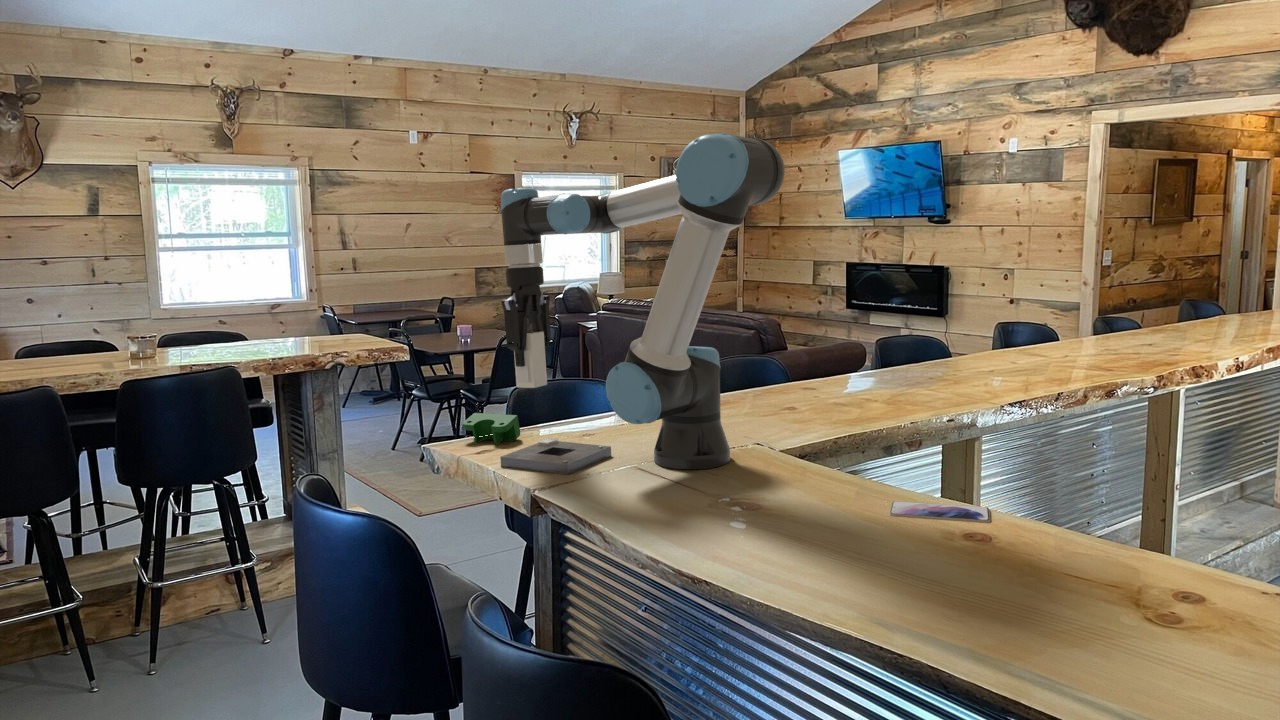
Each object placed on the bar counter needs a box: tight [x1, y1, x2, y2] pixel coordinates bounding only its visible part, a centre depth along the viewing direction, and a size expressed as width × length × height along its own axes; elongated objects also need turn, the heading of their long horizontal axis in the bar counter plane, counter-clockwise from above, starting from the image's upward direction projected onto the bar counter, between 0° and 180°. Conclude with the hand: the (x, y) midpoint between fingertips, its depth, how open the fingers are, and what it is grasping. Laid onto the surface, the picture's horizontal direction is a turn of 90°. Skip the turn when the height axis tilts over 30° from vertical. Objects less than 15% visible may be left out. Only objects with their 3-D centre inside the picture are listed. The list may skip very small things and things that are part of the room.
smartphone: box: [889, 500, 991, 524], centre depth 147 cm, size 7×1×15 cm
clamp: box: [462, 412, 521, 446], centre depth 206 cm, size 12×6×9 cm, turn 61°
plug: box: [513, 322, 548, 389], centre depth 189 cm, size 4×4×13 cm
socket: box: [500, 437, 612, 476], centre depth 187 cm, size 16×16×3 cm
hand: (531, 380), depth 190 cm, fingers closed on plug, 4 cm apart
